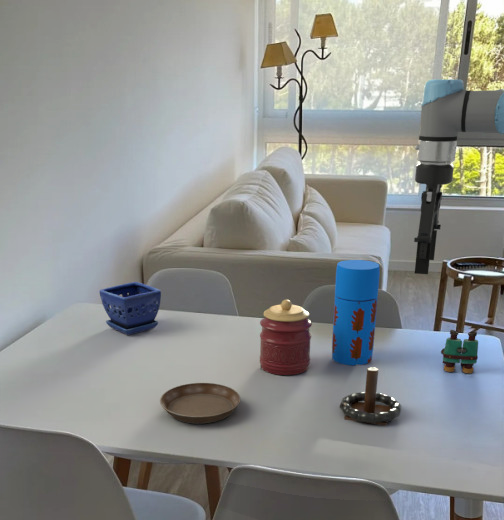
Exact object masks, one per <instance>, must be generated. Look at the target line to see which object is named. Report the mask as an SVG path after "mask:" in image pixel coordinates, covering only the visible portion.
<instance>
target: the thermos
mask: <svg viewBox="0 0 504 520" xmlns="http://www.w3.org/2000/svg"><path fill="white" fill-rule="evenodd" d="M380 269H381V268H380V264H379V263H378V262H375V261H371V260H365V259H346V260H341V261H339V262H337V264H336V269H335V286H334V304H333V319H332V320H333V322H332V339H331V358H332V360H333V361H334V362H336V363H337V364H340V365H346V366H363V365H367V364H369V363H370V362H372V359H373V351H374V345H375V335H376V334H375V333H376V322H377V321H376V320H377V309H378V308H377V307H378V300H379V299H378V297H379V287H380V275H381V274H380Z"/></svg>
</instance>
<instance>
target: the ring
mask: <svg viewBox="0 0 504 520" xmlns="http://www.w3.org/2000/svg"><path fill="white" fill-rule="evenodd" d="M364 399H365V391H360V392H353V393H351V394H348V395H346V396H344V397H343V398H342V399H341V402H340V404H339V409H340V411H341V412H342V413H343V414H344V416H345V415H346V416H348V417H350V418H353V419H355V420H358V421H362V422H361V423H365V422H371V423H370V424H372V423H378V422H387V421H388V422H390V421H392V420H394V419H396V418H398V417H399V416H401V412H402V404H401V403H400V402H399V401H397V399H395V398H394V397H392V396H389V395H387V394H384V393H381V392H376V403H380V404H382V405H385V406H389V407H390V408H391V410H389V411H387V412H383V413H367V412H361V411H358V410H355V409H353V408H351V407H350V406H351V404H352V403H355V402H364ZM358 421H357V422H358ZM388 422H387V423H388Z"/></svg>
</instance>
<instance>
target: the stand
mask: <svg viewBox="0 0 504 520" xmlns="http://www.w3.org/2000/svg"><path fill="white" fill-rule="evenodd" d="M378 379H379V368H378V367H374V366H370V367H369V366H368V367H367V368H366V377H365V389H364V392H365V399H364V401H360V402H355V403H352V404H350V407H351V408H353V409H355V410H358V411H361V412H367V413H383V412H387V411H389V410H391V408H390V407H389V406H388V405H385V404H377V402H376V393H378V392H377V391H378ZM343 419H344V420H345V421H353V422H359V423H363V422H362V421H358V420H355V419H353V418H350V417H348V416H346V415H345V414H344V417H343ZM364 423H366V424H371V425H372V424H373V425H379V426H387V425H388V423H389V421H387V422H378V423H371V422H364Z"/></svg>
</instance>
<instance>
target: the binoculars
mask: <svg viewBox="0 0 504 520" xmlns="http://www.w3.org/2000/svg"><path fill="white" fill-rule="evenodd" d="M449 335H450V337H447V338H446V340H445V345H444V346H445V347H444V348H442V349H440V350H441V351H440V354H441V355H442V364H444V365H443V371H445V372H447V373H453V372H455V371H456V364H460V367H461V368H462V373H465V374H473V373H474V365H475V364H477V362H478V358H479V357H478V354H479V353H478V351H479V340H478V339H476V337H477V336H478V331H476V330H473V331H469V332H468V333H467V336H468V338H464V339H463V340H462V339H461V338H458V335H459V331H457V330H454V329H450V330H449Z"/></svg>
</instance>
